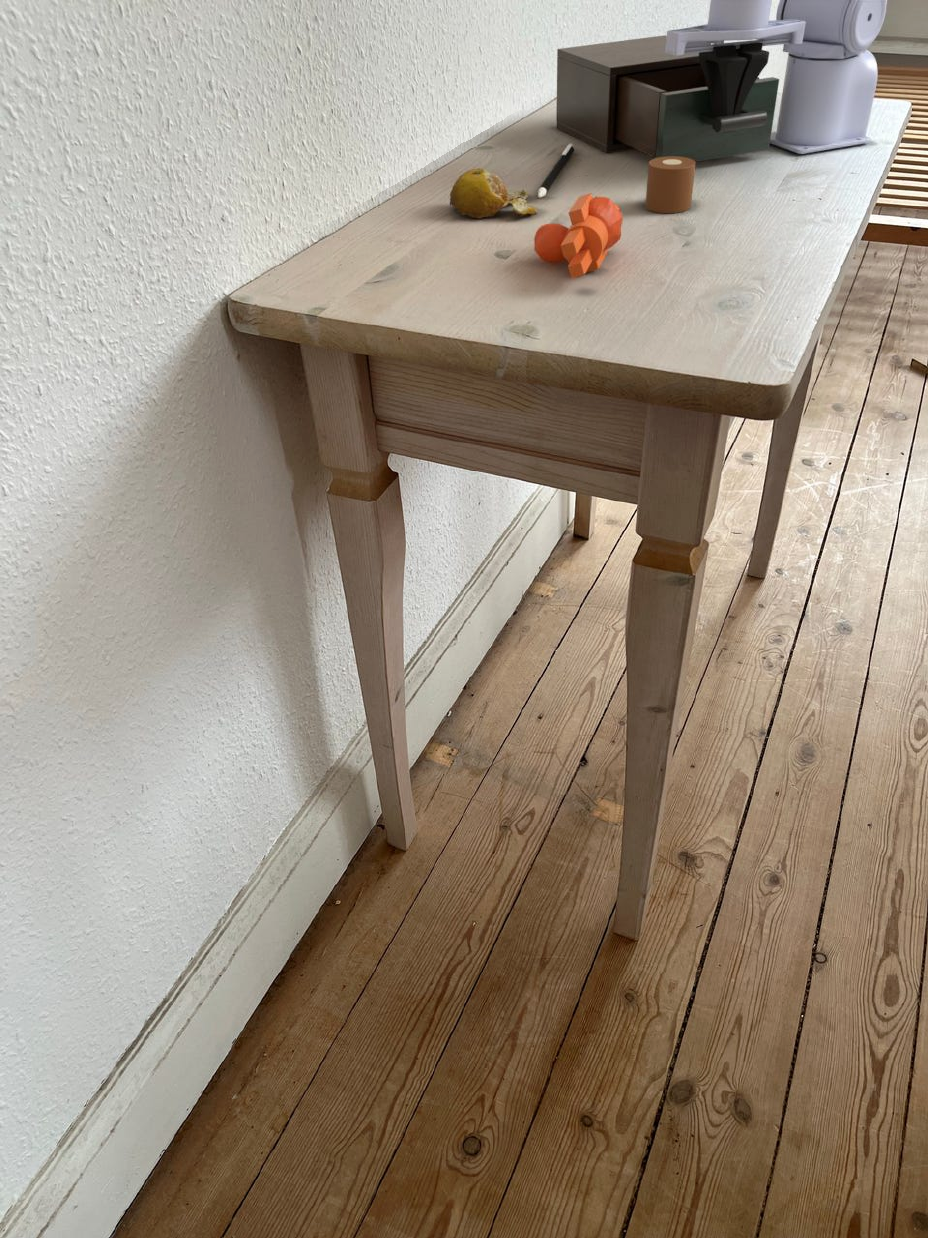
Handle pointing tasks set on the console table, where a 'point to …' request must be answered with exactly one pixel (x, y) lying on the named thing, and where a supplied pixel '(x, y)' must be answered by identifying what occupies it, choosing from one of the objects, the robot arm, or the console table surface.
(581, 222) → the orange chunky figure
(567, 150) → the pen
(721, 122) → the drawer
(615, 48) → the cabinet
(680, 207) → the brown short cylinder
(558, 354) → the console table surface
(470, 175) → the fruit
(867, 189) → the console table surface
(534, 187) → the console table surface
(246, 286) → the console table surface
